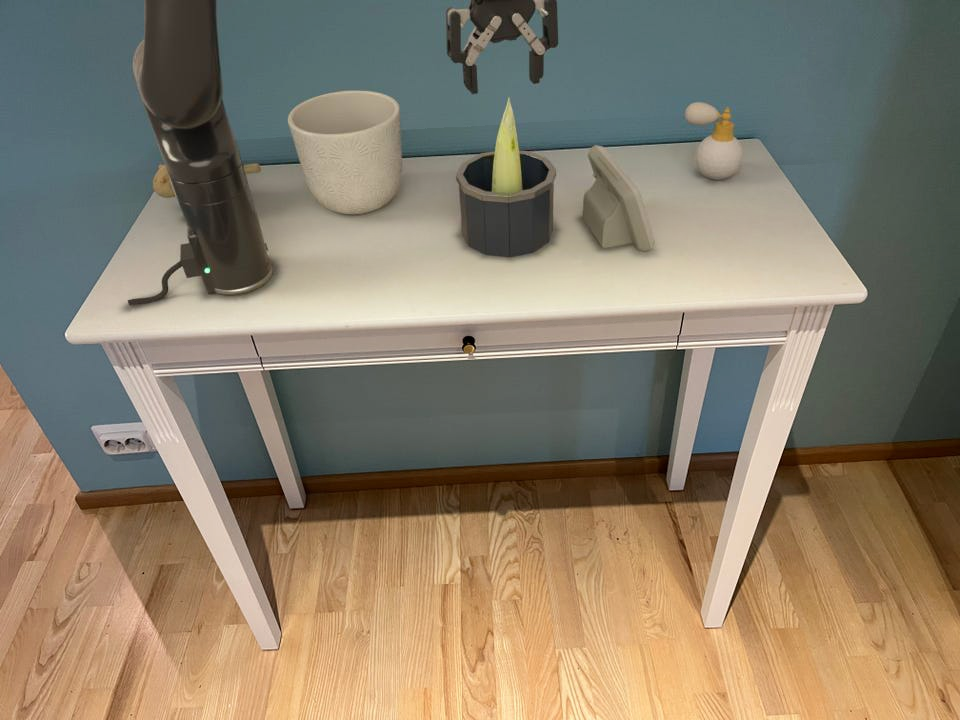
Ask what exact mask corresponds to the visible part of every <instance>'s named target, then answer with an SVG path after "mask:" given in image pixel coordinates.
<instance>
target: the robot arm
mask: <svg viewBox="0 0 960 720" xmlns="http://www.w3.org/2000/svg"><path fill="white" fill-rule="evenodd" d="M217 2H218V1H217V0H144V32H143V33H144V34H143V40H142V41H141V42H139V44H138V46H137V47H136V50H135V52H134V55H133V59H132V74H133V77H134V81H135V84H136V87H137V89H138V90H137V91H138V92H139V96H140V98H141V101H142V104H143V106H144V109H145V111H146V112H145V113H146V115H147V117H148V121H149V123H150V125H151V129H152V131H153V134H154V139H155V140H156V144H157V145H158V149H159V152H160V155H161V158H162V161H163V163H164V165H165V166H166V169H167V171H168V174H169V177H170V179H171V182H172V185H173V188H174V191H175V193H176V196H177V198H176V200H177V199H178V200H177V202H178V206H179V208H180V210H181V213H182V217H183V219H184V221H185V225H186V227H187V228H186V229H187V230H186V231H187V233H186V234H187V235H186V237H187V240H188V242H186V243H181V244H180V253H179V254H180V255H179V261H178V262H176V263H175V264H174V265H172V266H171V267H169V268H168V269H167V270H166V271H165V272H164V274H163V276H162V278H161V291H160V292H159V293H158V294H156V295H153V296H149V297H140V298H139V297H138V298H131V299H127V304H128V306H134V305H140V304H141V305H143V304H150V303H154V302H157V301H160V300H163V298H165V297H166V296H167V295H168V293H169V279H170V277H171V276H172V275H173V274H174V273H175V272H176V271H178V270H179V269H181V268H182V269H183V272H184V275H185V278H186V279H191V278H196V277H201V279H202V282H203V284H204V287H205V291H206V293H207V294H208V295H212V294H219V295H223V296H236V295H237V296H238V295H242V294H247V293H250V292H253V291H255V290H257V289H259V288H261V287H262V286H264V285H266V283H268V282H269V280H270V279H271V278H272V276H273V272H274V268H273V265H272V262H271V259H270V255H269V253H268V252H269V248H268V246H267V243H266V242H265V238H264V236H263V231H262V228H261V224H260V221H259V220H260V219H259V217H258V213H257V210H256V207H255V203H254V199H253V195H252V192H251V189H250V184H249V182H248V177H247V174H245V170H244V167H243V165H244V163H243V160H242V156H241V153H240V148H239V145H238V142H237V139H236V137H235V134H234V132H233V131H234V130H233V128H232V126H231V122H230V119H229V117H228V114H227V111H226V107H225V103H224V100H223V93H224V85H223V76H222V68H221V58H220V57H221V56H220V47H219V33H218V18H217V15H218V13H217ZM536 10H537V13H538V15H539V16H541V22H542V23H541V24H542V37H540V38H538V36H537V34H536V33H535V32H534V31H533V30H532V28H531V27H530V26H529V25H528V24H529V22H530V21H531V19H532V17H533V15H534V14H535V12H536ZM558 19H559V18H558V1H557V0H470V4H469V6H468V8H459V9H455V8H454V7H452V6H450V7H448V8H447V9H446V11H445V25H446V27H445V28H446V29H445V30H446V55H447V56H448V58H449V59H450V60H451V61H452V63H454V64H461V65H462V78H463V79H462V80H463V85H464V87H465V88H466V90H467V91H469V92H470V94H471V95H477V94H478V93H479V87H478V86H479V85H478V72H477V71H478V68H477V67H478V66H477V64H476V63H475V62H476V61H477V59H478V58H479V56H480V54H481V53H482V52H484V51H485V49H486V48H487V46H488V44H489V42H492V44H498V43H501V42H504V41H517V38H519V37H521V38H523V40H524V41H525V43H526V44H527V45H528V47H530V49H531V50H528V79H529V81H530V82H531V83H532V84H533V85H536V84H540V83H541V82H540V79H543V77H544V72H545V71H544V68H545V67H544V66H545V53H546V52H547V51H548V50H550V49H551V48H552V49H555V48H557V47H558V45H559V22H558ZM468 20H470V21H471V23H472V24H473V25H474V27H473V29H472V31H471V33H470V34H469V36H468V38H467V39H468V40H467V43H466V44H465V46H464V47H463V49H462V45H461V44H462V33H461V31H462V30H463V29H464V28H465V27H466V24H467V21H468ZM176 196H175V197H176Z"/></svg>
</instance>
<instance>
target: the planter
mask: <svg viewBox="0 0 960 720" xmlns="http://www.w3.org/2000/svg"><path fill="white" fill-rule="evenodd" d="M287 123H288V127H289V130H290V133H291V137H292V140H293V143H294V146H295V150H296V154H297V157H298V160H299V163H300V167H301V170H302V173H303V177H304V179H305V183H306V185H307V186H308V189H309V191H310V193H311V194H312V196H313V197H314V198H315V199H316V201H317V202H318V203H319V204H321V205H322V206H323V207H324V208H326V209H328V210H330V211H332V212H334V213H339V214H344V215H362V214H368V213H371V212H373V211H374V212H375V211H376V210H378V209H380V208H382V207H384V206H386V205H387V204H388V203H389V202H390V201H392V199H394V197H395V195H396V194H397V192H398V191H399V189H400V186H401V182H402V177H403V150H402V130H401V109H400V104H399V103H398V102H397V101H396V99H394V98H393V97H391V96H389V95H387V94H384V93H381V92H377V91H372V90H371V91H370V90H341V91H335V92H329V93H325V94H324V93H323V94H321V95H318V96H314V97H311V98H308V99H307V100H304V101H302V102H300V103H299V104H297V105H296V106H295V107H294V108H293V109H292V110H291V111H290V113H289V114H288V116H287Z"/></svg>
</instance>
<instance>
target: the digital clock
mask: <svg viewBox="0 0 960 720" xmlns="http://www.w3.org/2000/svg"><path fill="white" fill-rule="evenodd" d="M587 157H588V160H589V164H590V166H591V169H592V173H593V174H592V177H593V178H595V180H594V183H593V184H592V186H591V187H590V188H589V189H588V190H587V191H585V192H584V195H583V201H582V203H583V204H582V215H581V216H582V220H583V221H584V223H585V224H586V226H587V227H588V229H589V230H590V231H591V233H592V235H593V236H594V237H595V239H596V240H597V242H598V243H599V245H600V246H601V247H602V248H603V249H607V248H613V247H618V246H623V245H624V246H625V245H629V244H630V245H631V244H634V246H635V247H636V248H637V250H638V251H641V252H650V251H652V250H653V247H654V246H655V237H654V234H653V231H652V230H653V229H652V227H651V223H650V220H649V217H648V214H647V209H646V206H645V204H644V200H643V197H642V193H641V191H640V188H638V186H637V185H636V184H635V182H634V181H633V180H632V179H631V178H630V177H629V175H628V174H627V173H626V172H625V171H624V169H623V168H622V167H621V166H620V165H619V164H618V162H617V161H616V160H615V159H614V157H613V156H612V155H611V154H610V153H609V152H608V151H607V150H606V148H605V147H604V146H602V145H597V144H594V145H593V146H592V147H590V148H589V150H588V152H587Z"/></svg>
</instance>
